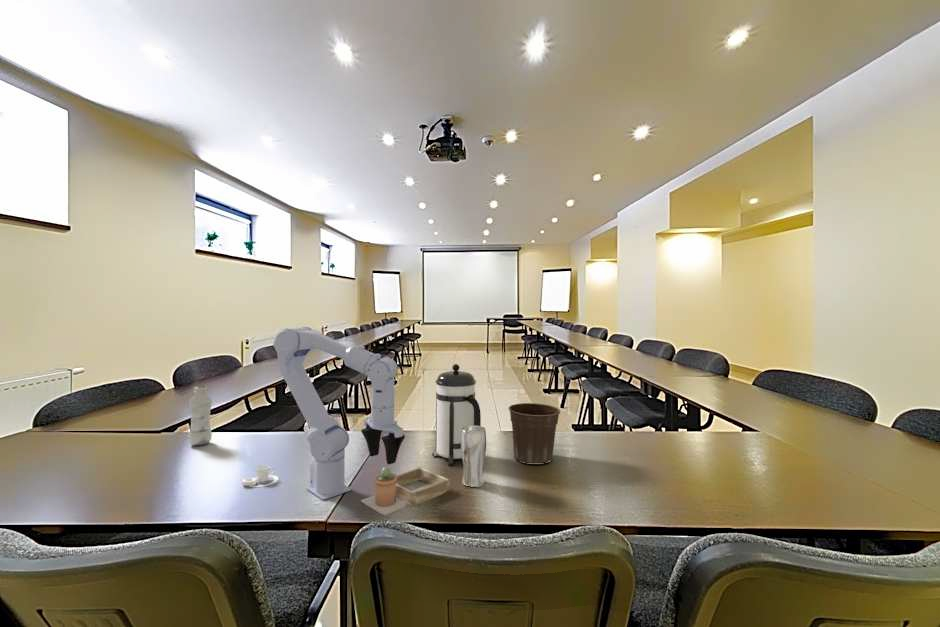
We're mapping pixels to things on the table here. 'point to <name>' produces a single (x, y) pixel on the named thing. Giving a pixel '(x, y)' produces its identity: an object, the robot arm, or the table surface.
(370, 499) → the grey mat
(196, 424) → the plastic bottle
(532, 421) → the plant pot
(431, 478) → the frame
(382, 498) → the terracotta pot
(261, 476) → the teacup and saucer
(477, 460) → the silver drink can
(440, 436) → the coffee press
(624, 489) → the table surface
